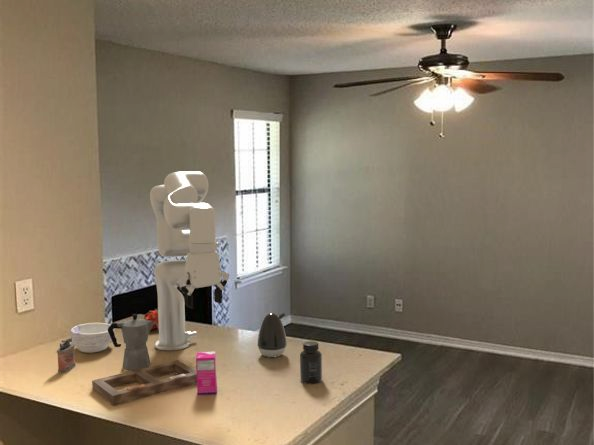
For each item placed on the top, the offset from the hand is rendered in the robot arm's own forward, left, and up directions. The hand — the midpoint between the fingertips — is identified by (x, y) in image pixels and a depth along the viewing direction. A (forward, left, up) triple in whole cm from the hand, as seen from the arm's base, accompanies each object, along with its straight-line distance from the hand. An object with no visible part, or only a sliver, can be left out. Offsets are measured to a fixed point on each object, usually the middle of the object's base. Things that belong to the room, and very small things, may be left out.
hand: (204, 305), depth 194 cm
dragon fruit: (-18, -70, -27) cm, 77 cm away
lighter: (+26, -46, -27) cm, 59 cm away
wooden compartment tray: (+12, -15, -27) cm, 33 cm away
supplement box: (0, 0, -27) cm, 27 cm away
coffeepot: (+8, -34, -27) cm, 44 cm away
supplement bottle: (-30, +13, -27) cm, 42 cm away
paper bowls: (+11, -61, -27) cm, 67 cm away
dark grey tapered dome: (-35, -14, -27) cm, 46 cm away
